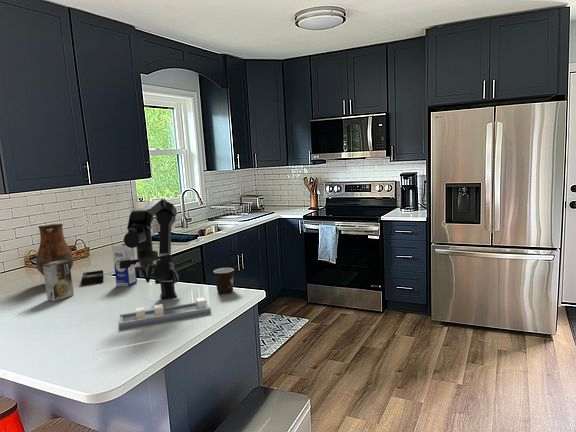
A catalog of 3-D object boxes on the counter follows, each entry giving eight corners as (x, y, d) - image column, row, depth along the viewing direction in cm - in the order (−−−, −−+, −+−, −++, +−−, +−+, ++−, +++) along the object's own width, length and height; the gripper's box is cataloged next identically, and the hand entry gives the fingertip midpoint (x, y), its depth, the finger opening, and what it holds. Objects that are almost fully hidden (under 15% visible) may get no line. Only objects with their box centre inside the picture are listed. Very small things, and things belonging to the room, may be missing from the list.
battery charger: (103, 283, 213) (102, 275, 213) (82, 286, 210) (81, 278, 209) (103, 277, 225) (102, 270, 225) (83, 280, 221) (82, 272, 221)
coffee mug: (226, 288, 191) (224, 266, 190) (239, 291, 186) (237, 269, 184) (205, 296, 182) (203, 273, 181) (219, 299, 177) (217, 275, 175)
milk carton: (116, 286, 205) (111, 245, 202) (124, 282, 211) (120, 242, 209) (129, 286, 203) (124, 245, 200) (137, 282, 210) (133, 242, 207)
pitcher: (76, 276, 229) (69, 221, 225) (75, 286, 210) (67, 225, 206) (40, 281, 222) (33, 224, 218) (36, 292, 203) (28, 229, 199)
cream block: (196, 306, 165) (195, 298, 165) (204, 305, 166) (203, 297, 166) (198, 309, 162) (197, 301, 161) (206, 308, 163) (205, 300, 162)
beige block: (136, 316, 158) (135, 308, 157) (145, 315, 159) (144, 306, 158) (136, 320, 154) (135, 311, 154) (145, 318, 155) (144, 310, 155)
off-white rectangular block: (154, 313, 160) (153, 305, 160) (163, 312, 161) (162, 304, 161) (155, 316, 156) (154, 308, 156) (163, 315, 157) (163, 307, 157)
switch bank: (120, 320, 159) (119, 314, 159) (206, 305, 170) (206, 300, 169) (119, 329, 150) (119, 323, 149) (211, 313, 160) (210, 307, 160)
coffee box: (66, 293, 198) (61, 259, 196) (74, 295, 194) (70, 260, 192) (46, 299, 190) (41, 264, 188) (54, 301, 187) (50, 265, 185)
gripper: (117, 249, 151) (121, 292, 153) (171, 242, 157) (175, 284, 159) (117, 244, 161) (122, 284, 164) (168, 238, 168) (172, 277, 170)
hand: (148, 282), depth 164 cm, fingers closed
